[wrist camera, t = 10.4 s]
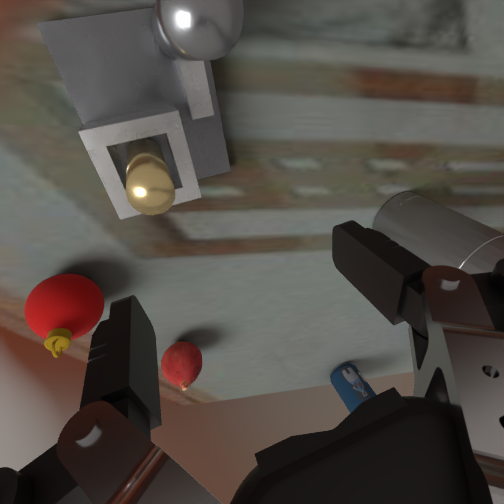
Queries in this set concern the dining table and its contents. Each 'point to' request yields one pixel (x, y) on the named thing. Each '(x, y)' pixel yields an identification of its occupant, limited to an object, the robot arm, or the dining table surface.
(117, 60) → the grey desk organizer
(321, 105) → the dining table surface
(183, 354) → the onion
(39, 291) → the christmas ornament
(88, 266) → the dining table surface
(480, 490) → the robot arm
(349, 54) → the dining table surface
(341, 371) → the soda can
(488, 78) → the dining table surface
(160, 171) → the gold cylinder
